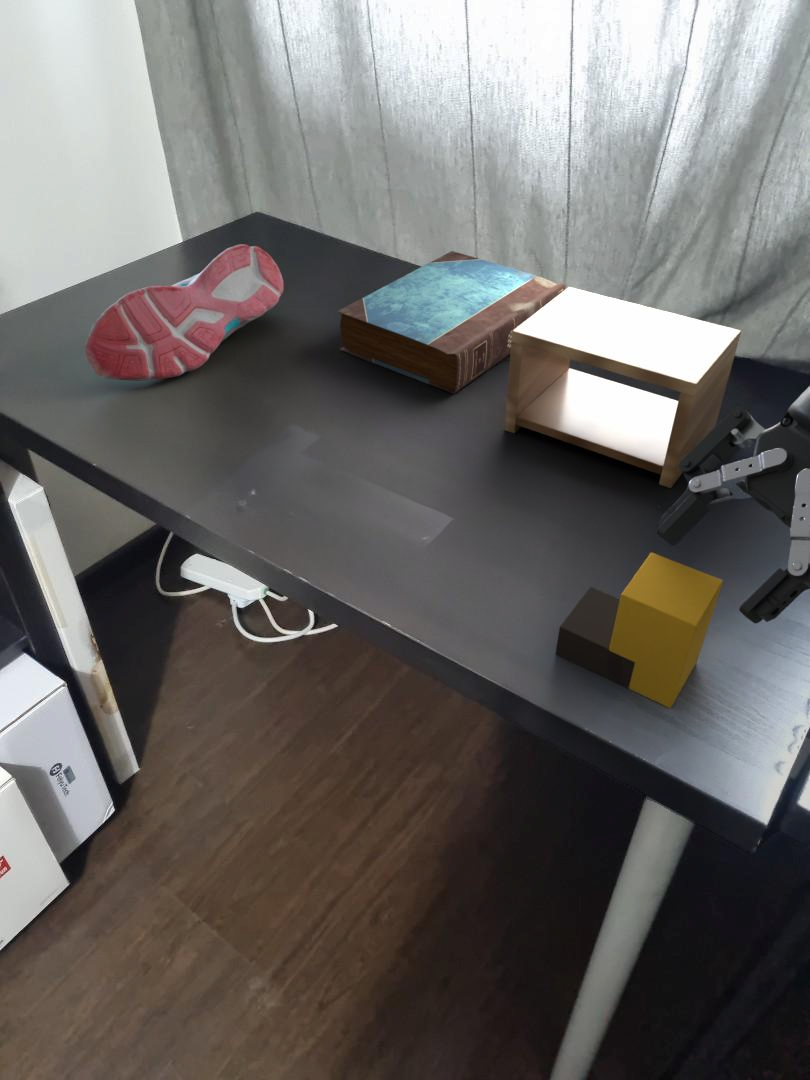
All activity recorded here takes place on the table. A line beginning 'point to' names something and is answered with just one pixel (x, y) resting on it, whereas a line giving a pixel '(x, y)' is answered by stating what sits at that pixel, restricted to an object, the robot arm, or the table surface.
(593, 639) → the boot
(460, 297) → the book
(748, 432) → the robot arm
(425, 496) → the table surface
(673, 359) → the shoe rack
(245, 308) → the athletic shoe
